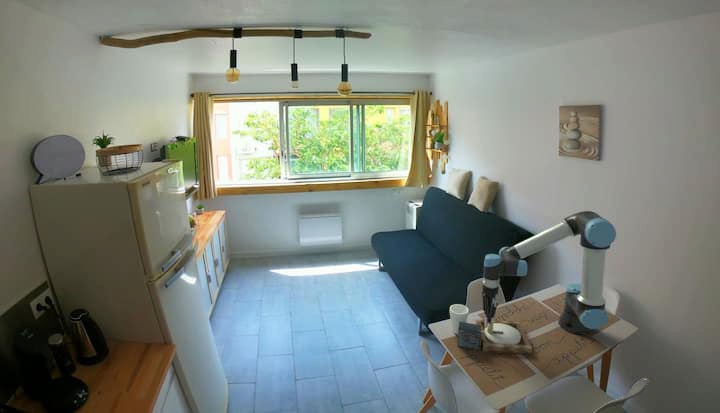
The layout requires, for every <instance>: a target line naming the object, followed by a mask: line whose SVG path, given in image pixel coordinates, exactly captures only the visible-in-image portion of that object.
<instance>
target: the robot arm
mask: <svg viewBox="0 0 720 413" xmlns="http://www.w3.org/2000/svg"><path fill="white" fill-rule="evenodd" d="M578 235H580V239H579V240H580V243H579V245H580V246H581V247H582V248H583V253H582V254H583V256H582V270H581V271H582V273H581V283H570V284H569V285H567V286H566V290H565V296H564V297H565V298H564V306H563V310H562V312H561V314H560V315H559V317H558V320H557V321H558V322H557V323H558V325H559V327H560V328H562V330H564V331H567V332H568V333H573V334H575V333H578V334H577V335H583V334H582V333H587V332H589V331H590V332H591V331H592V330H599V329H601V328H603V327H604V326H606V325H607V324H608V322H609V320H610V318H609V314H608V312H607V311H606V303H607V302H606V299H605V298H604V297H603V291H604V290H603V287H604V279H605V278H604V275H605V263H606V254H607V253H606V251H608V250H609V249H610V248H611V245H612V244H613V243H614V242H615V240H616V238H617V230H616V228H615V226H614V225H613V224H612V222H610V221H609V220H608V219H606V218H604V217H602V216H600V214H598V213H596V212H594V211H592V210H585V211H583V210H581V211H579V212H576V213H574V214H571V215H568V216H567V217H564V218H563V219H562V220H561V222H560V223H557V224H555V225H553V226H550V227H549V228H547V229H545V230H543V231H541V232H539V233H536V234H535V235H533V236H531V237H529V238H527V239H524V240H523V241H521V242H519V243H517V244H514V245H513V246H510V247H509V246H504V247H501V248H500V249H499V252H498V254H495V253H488V254H486V255H485V257H484V261H483V276H482V277H483V278H482V289H481V297H482V311H483V312H484V313H483V314H484V320H485V323H484V326H485V328H488V323H491V320H492V319H493V318H495V316H496V310H497V308H498V306H499V304H498V303H497V302H496V296H497V295H498V294H499V288H500V287H499V285H500V279H501V277H500V276H508V277H509V276H510V277H511V276H512V277H525V276H526V275H527V274H528V263H527V261H526V260H525V258H527V257H529V256H531V255H532V254H536V253H537V252H539V251H542V250H543V249H546V248H548V247H549V246H551V245H554V244H556V243H559V242H560V241H563V240H565V239H566V238H567V239H568V238H569V237H573V238H574V237H575V236H578ZM523 259H524V260H523ZM590 332H589V333H590ZM580 333H581V334H580ZM587 334H588V333H587Z"/></svg>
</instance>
